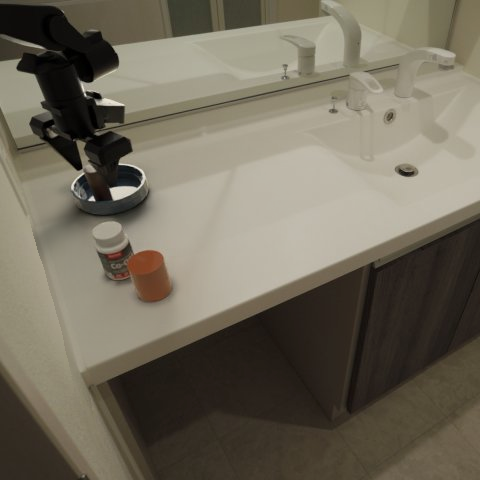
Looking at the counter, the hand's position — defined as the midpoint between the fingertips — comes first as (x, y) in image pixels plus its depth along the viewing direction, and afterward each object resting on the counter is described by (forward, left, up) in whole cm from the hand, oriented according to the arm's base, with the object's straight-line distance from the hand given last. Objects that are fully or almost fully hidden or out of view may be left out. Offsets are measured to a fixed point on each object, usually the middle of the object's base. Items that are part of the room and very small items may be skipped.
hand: (96, 177), depth 75 cm
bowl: (0, +2, -6) cm, 6 cm away
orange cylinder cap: (+19, -18, -6) cm, 27 cm away
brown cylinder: (0, 0, -1) cm, 1 cm away
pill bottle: (+12, -15, -6) cm, 20 cm away
